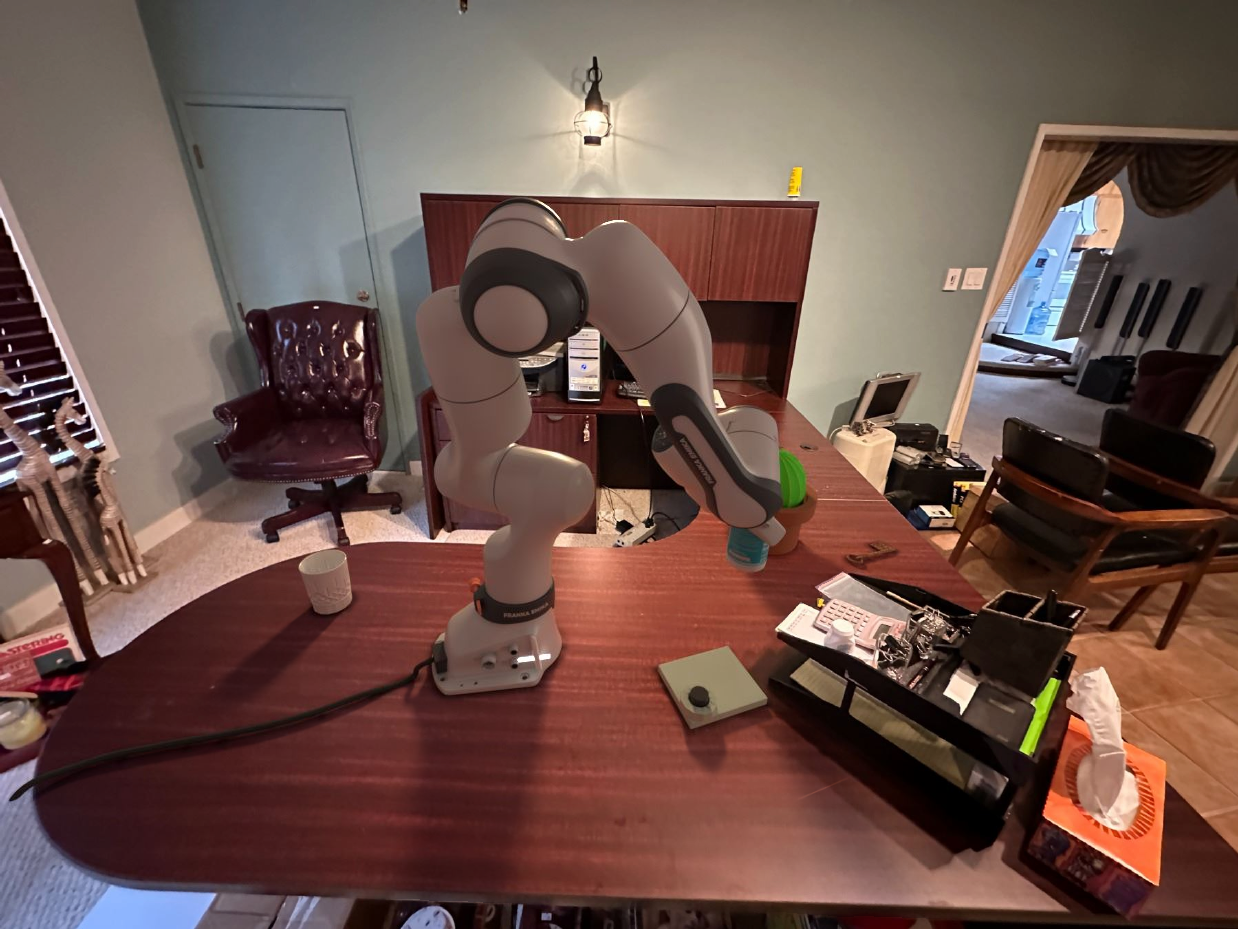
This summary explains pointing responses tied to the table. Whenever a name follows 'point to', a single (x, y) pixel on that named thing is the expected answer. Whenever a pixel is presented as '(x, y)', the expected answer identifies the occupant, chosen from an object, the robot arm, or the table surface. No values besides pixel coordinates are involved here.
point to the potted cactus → (792, 502)
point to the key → (879, 546)
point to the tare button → (699, 696)
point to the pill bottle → (746, 550)
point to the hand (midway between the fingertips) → (754, 525)
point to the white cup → (327, 580)
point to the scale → (711, 685)
